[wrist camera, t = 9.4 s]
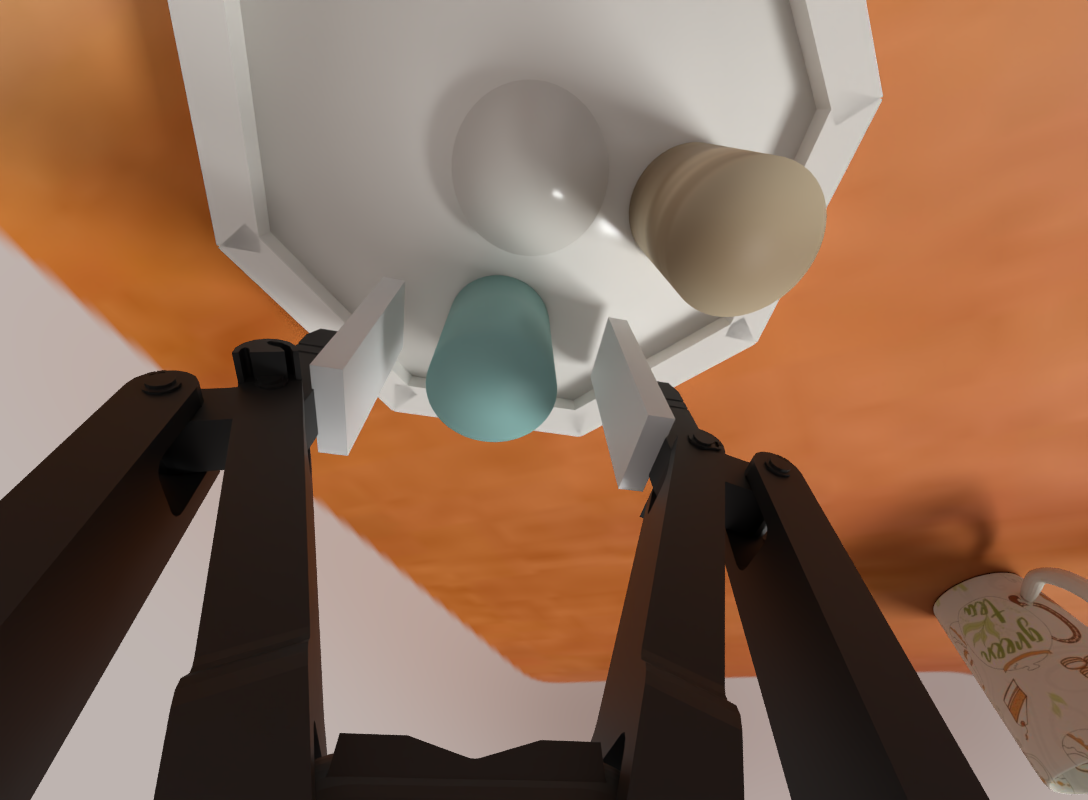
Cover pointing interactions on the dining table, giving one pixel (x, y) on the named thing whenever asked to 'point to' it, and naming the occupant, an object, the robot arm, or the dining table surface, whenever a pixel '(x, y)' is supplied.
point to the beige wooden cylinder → (728, 225)
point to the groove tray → (502, 153)
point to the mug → (1028, 665)
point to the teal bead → (494, 362)
